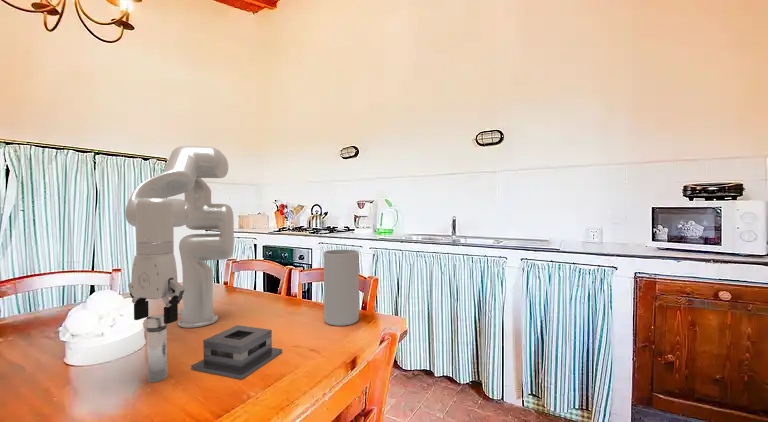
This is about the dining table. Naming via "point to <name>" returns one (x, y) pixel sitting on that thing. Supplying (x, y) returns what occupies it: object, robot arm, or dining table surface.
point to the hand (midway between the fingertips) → (155, 320)
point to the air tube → (156, 348)
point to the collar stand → (237, 352)
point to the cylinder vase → (341, 287)
